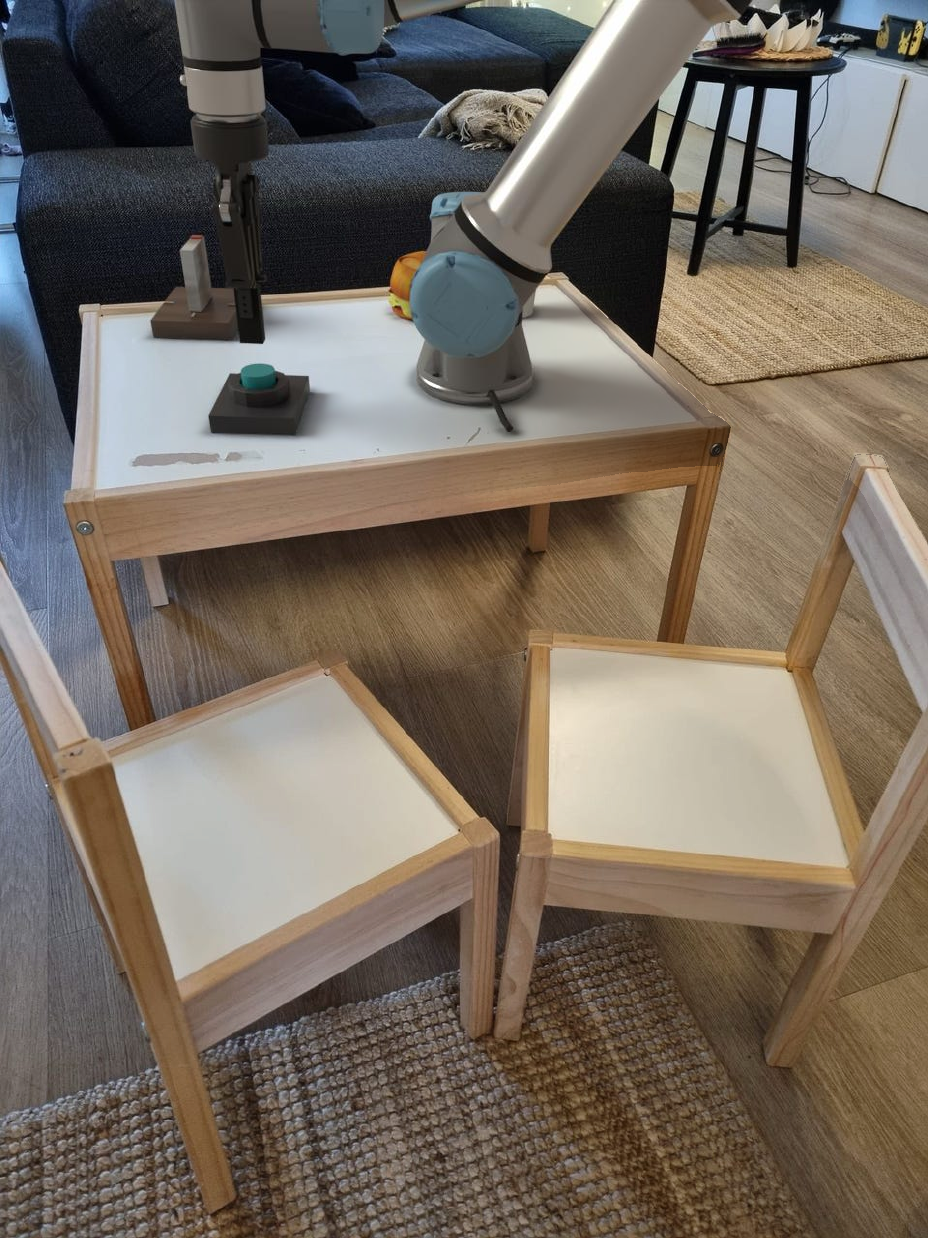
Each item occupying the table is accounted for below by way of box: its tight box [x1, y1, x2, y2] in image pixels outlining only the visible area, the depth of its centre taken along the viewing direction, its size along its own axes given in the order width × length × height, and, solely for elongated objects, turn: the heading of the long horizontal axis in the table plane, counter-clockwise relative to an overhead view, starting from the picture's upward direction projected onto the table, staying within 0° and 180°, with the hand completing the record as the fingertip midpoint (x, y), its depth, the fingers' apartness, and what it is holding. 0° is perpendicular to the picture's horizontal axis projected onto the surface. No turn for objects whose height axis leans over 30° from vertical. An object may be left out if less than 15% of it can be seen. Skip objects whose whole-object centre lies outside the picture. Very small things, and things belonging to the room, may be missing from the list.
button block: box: [208, 370, 311, 436], centre depth 112 cm, size 12×10×4 cm
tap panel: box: [149, 286, 238, 341], centre depth 135 cm, size 14×11×3 cm
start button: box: [240, 362, 276, 389], centre depth 110 cm, size 4×4×2 cm
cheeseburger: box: [388, 250, 427, 321], centre depth 138 cm, size 10×11×10 cm
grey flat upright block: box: [179, 234, 212, 312], centre depth 131 cm, size 6×2×9 cm, turn 179°
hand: (252, 340), depth 107 cm, fingers closed
